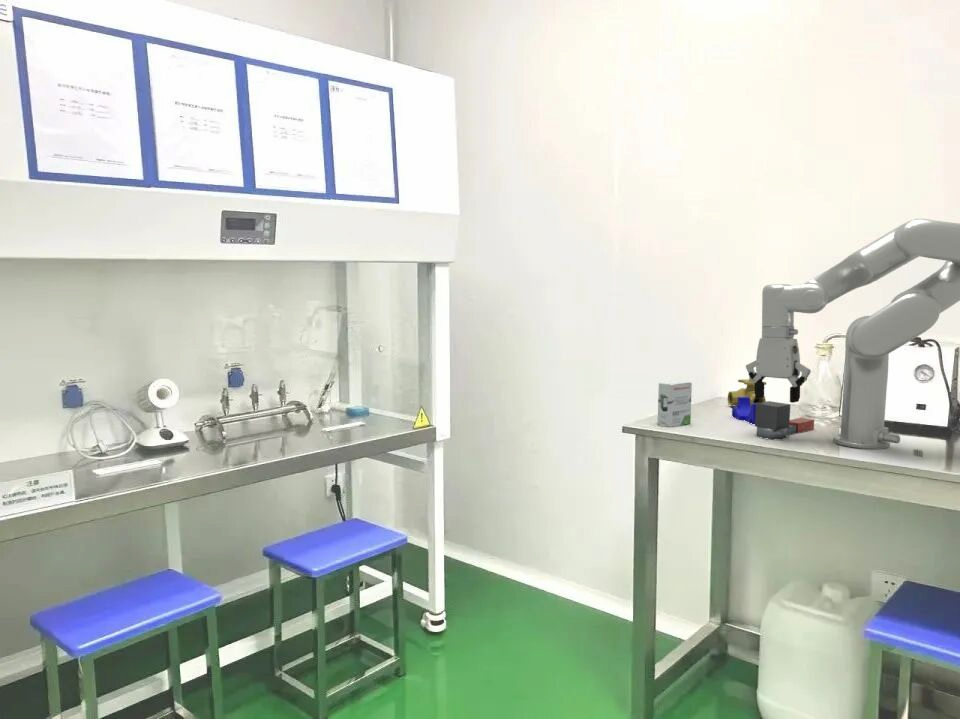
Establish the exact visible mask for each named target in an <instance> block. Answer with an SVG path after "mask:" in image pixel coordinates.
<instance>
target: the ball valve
mask: <svg viewBox="0 0 960 719" xmlns="http://www.w3.org/2000/svg"><path fill="white" fill-rule="evenodd" d="M737 382H738V383H743V385H745V386H746V387H745V388H744V387H741V388H740V389H738V390H734V391H733V390H732V391H731V390H730V391H728V394H727V403H728V405H729V406H737V404H738V397H749V398H750V406H752V403H762V402H767V400H766V396H765V395H764V397H763V398H758V399H757V398H755V383H753V381H752V379H751V378H750V376H749V375H748V379H737ZM763 382H764V386H766V385H767V381H763Z"/></svg>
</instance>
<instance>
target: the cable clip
mask: <svg viewBox="0 0 960 719" xmlns="http://www.w3.org/2000/svg"><path fill="white" fill-rule="evenodd" d="M731 408H732V409H731V417H732V416H733V417H734V418H733V417H732V418H733V419H735V418H736V420H737V419H738V420H737V421H739V420H745V421H744V422H746V421H747V422H746V423H748V422H749V424H750V423H752V424H755V415H756V403H752V406H750V398H749V397H738V404H737V405H736V406H732V407H731ZM752 424H751V425H752Z"/></svg>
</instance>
